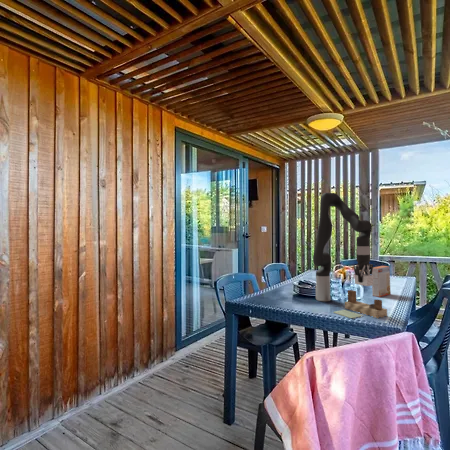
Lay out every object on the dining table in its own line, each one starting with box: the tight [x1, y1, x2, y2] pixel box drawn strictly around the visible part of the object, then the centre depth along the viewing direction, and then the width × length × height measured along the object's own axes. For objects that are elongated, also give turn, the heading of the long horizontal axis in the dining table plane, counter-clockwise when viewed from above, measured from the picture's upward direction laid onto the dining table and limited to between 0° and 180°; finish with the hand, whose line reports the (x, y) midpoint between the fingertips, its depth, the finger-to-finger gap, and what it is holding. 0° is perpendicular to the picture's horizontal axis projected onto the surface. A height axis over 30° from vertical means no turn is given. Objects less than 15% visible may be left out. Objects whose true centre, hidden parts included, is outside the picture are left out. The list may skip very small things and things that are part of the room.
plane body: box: [344, 289, 388, 319], centre depth 188 cm, size 24×8×11 cm, turn 24°
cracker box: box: [371, 265, 392, 298], centre depth 229 cm, size 14×6×21 cm, turn 121°
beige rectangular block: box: [354, 272, 373, 287], centre depth 188 cm, size 9×5×7 cm, turn 24°
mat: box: [333, 309, 364, 319], centre depth 184 cm, size 14×9×1 cm, turn 24°
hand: (363, 281), depth 188 cm, fingers closed on beige rectangular block, 5 cm apart
